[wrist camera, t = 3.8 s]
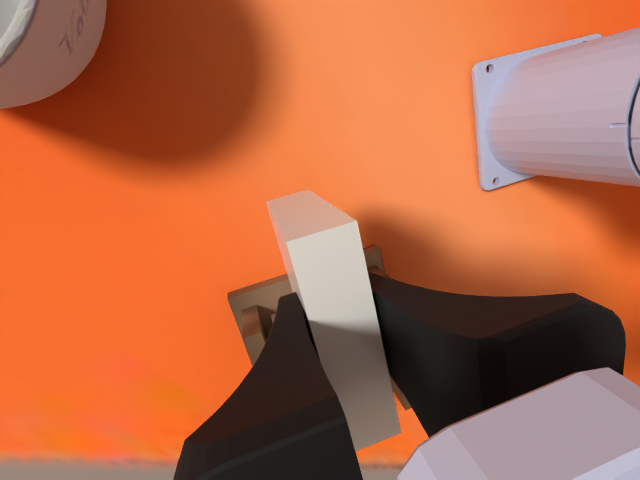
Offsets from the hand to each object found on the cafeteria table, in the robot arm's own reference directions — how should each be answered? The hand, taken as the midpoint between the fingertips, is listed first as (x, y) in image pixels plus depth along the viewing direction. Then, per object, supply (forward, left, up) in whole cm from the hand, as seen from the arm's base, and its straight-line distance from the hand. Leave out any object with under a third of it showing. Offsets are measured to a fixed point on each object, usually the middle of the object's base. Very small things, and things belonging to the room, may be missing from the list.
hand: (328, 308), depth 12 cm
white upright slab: (0, 0, -3) cm, 3 cm away
